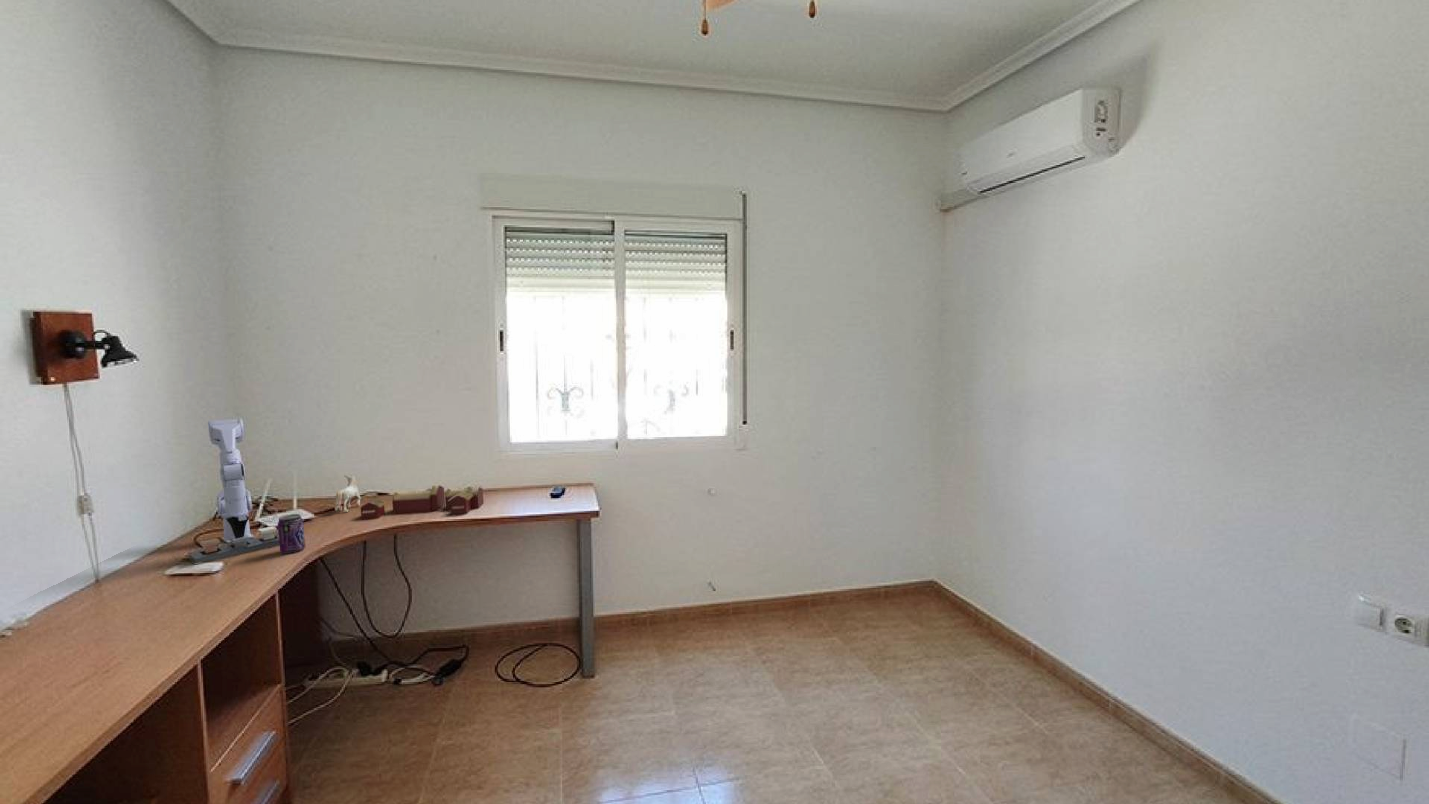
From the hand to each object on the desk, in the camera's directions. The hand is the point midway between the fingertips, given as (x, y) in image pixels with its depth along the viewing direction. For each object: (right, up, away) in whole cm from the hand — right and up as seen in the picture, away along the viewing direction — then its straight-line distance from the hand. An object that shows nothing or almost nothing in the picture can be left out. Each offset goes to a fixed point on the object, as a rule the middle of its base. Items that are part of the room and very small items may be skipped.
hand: (239, 537), depth 207 cm
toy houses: (+42, 0, +45) cm, 61 cm away
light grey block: (0, -3, 0) cm, 3 cm away
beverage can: (+19, -4, -1) cm, 20 cm away
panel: (0, -5, 0) cm, 5 cm away
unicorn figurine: (+4, 0, +52) cm, 52 cm away
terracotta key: (-5, -3, -6) cm, 8 cm away
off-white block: (+5, -2, +6) cm, 8 cm away
